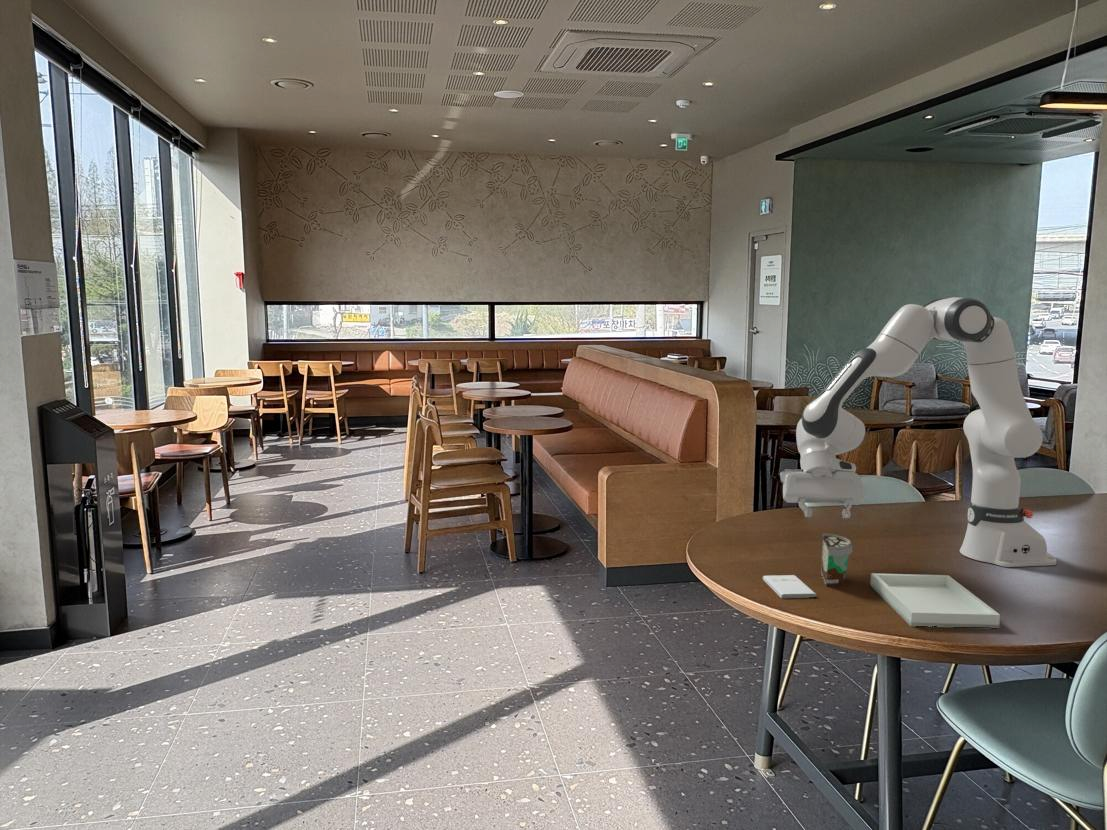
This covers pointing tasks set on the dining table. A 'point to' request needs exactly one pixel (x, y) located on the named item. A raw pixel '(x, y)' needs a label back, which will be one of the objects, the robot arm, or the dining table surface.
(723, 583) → the dining table surface
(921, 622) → the tray
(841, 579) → the food container
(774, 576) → the external hard drive
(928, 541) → the dining table surface
